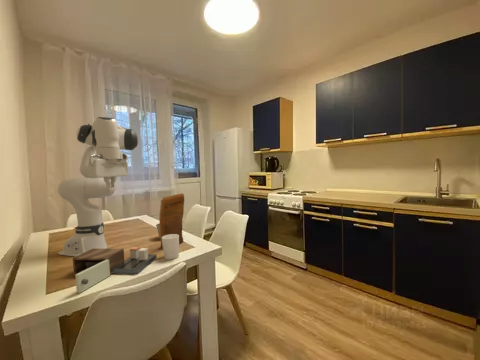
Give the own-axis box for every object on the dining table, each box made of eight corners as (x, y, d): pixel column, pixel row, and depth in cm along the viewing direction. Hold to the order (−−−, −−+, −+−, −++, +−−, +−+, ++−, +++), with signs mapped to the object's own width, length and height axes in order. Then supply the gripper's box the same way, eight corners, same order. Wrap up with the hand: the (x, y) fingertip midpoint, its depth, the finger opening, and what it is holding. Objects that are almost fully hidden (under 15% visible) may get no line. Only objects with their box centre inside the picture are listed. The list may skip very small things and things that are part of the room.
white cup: (170, 261, 103) (169, 239, 102) (159, 258, 107) (158, 237, 106) (183, 255, 109) (182, 235, 109) (172, 252, 114) (171, 233, 113)
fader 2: (138, 260, 100) (138, 250, 100) (142, 257, 103) (141, 248, 103) (145, 260, 100) (144, 250, 99) (148, 257, 103) (148, 248, 102)
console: (112, 273, 92) (112, 268, 92) (134, 258, 108) (134, 253, 108) (137, 274, 91) (137, 269, 91) (156, 258, 107) (156, 254, 107)
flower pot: (169, 240, 134) (168, 225, 134) (154, 240, 134) (153, 226, 134) (174, 235, 144) (173, 222, 143) (159, 236, 144) (159, 222, 143)
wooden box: (73, 274, 93) (72, 258, 92) (94, 263, 104) (93, 248, 103) (107, 275, 91) (106, 258, 91) (124, 263, 102) (123, 248, 102)
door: (82, 293, 77) (80, 275, 77) (76, 292, 78) (75, 274, 78) (112, 275, 90) (111, 260, 90) (107, 275, 91) (106, 259, 90)
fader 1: (130, 258, 102) (129, 249, 102) (134, 256, 105) (133, 246, 105) (136, 258, 102) (135, 249, 102) (140, 256, 105) (139, 246, 105)
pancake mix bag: (190, 240, 132) (188, 193, 131) (164, 251, 116) (161, 197, 114) (182, 239, 136) (179, 192, 134) (155, 249, 119) (152, 196, 118)
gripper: (96, 153, 85) (99, 190, 86) (130, 156, 105) (131, 185, 106) (81, 154, 86) (84, 190, 87) (117, 156, 106) (119, 185, 107)
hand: (110, 187), depth 97 cm, fingers closed
